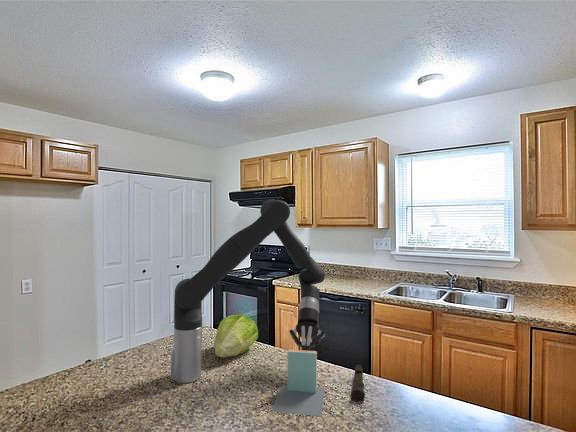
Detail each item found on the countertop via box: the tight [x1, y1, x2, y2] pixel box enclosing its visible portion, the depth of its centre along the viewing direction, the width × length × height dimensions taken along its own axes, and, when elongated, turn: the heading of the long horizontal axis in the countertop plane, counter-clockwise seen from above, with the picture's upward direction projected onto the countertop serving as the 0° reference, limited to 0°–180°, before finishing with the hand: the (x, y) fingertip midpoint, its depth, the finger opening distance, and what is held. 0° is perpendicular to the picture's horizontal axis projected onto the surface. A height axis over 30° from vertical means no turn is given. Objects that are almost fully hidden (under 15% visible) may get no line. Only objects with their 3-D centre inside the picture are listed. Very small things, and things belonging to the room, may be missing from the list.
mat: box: [270, 383, 326, 417], centre depth 100 cm, size 14×16×1 cm
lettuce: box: [213, 313, 259, 358], centre depth 137 cm, size 17×24×14 cm
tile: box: [286, 349, 318, 393], centre depth 106 cm, size 9×2×12 cm, turn 80°
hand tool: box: [350, 364, 366, 402], centre depth 109 cm, size 19×4×5 cm, turn 164°
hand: (305, 358), depth 113 cm, fingers closed
